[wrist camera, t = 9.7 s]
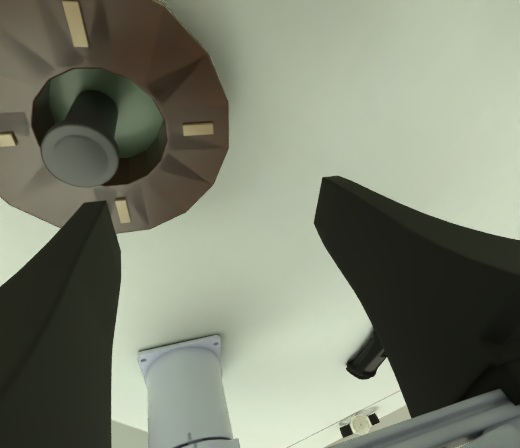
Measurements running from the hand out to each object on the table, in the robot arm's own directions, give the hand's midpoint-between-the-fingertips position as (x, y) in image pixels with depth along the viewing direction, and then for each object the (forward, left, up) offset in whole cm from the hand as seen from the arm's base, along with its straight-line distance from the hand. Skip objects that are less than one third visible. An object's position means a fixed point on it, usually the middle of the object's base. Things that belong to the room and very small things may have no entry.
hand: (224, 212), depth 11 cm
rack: (+1, +5, -10) cm, 11 cm away
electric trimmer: (-30, -22, -10) cm, 39 cm away
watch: (-60, -27, -10) cm, 67 cm away
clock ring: (+1, +4, -9) cm, 10 cm away
